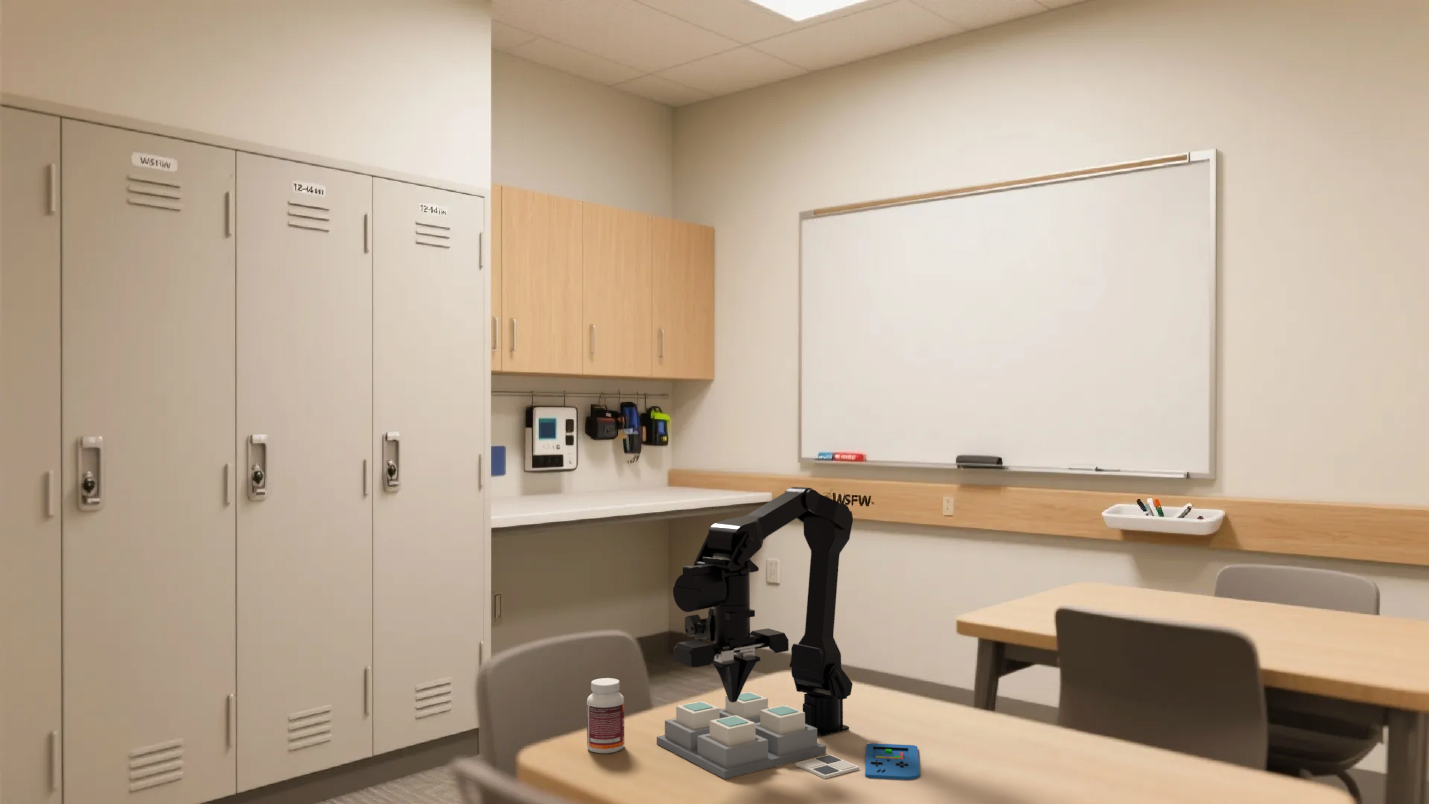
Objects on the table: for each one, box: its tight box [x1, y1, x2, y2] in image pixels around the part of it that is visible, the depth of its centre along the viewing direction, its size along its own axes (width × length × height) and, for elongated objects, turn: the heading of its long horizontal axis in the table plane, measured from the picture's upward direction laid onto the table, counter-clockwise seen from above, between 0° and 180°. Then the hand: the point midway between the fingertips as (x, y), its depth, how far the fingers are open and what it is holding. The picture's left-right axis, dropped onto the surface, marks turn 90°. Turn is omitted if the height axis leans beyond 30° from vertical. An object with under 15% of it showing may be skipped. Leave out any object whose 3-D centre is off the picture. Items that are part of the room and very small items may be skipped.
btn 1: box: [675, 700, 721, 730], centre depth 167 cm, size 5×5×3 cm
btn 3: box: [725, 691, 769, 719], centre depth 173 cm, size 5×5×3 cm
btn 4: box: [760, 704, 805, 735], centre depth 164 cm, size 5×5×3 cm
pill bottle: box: [586, 677, 625, 754], centre depth 166 cm, size 6×6×11 cm
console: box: [656, 707, 827, 780], centre depth 166 cm, size 20×20×4 cm
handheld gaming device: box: [864, 742, 921, 781], centre depth 159 cm, size 8×1×15 cm
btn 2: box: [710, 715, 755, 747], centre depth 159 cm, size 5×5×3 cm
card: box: [795, 754, 860, 780], centre depth 157 cm, size 7×7×1 cm
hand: (732, 701), depth 159 cm, fingers closed
